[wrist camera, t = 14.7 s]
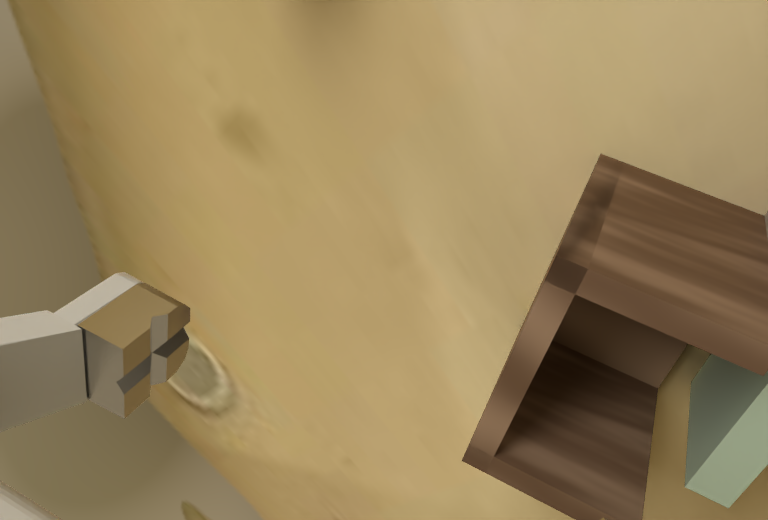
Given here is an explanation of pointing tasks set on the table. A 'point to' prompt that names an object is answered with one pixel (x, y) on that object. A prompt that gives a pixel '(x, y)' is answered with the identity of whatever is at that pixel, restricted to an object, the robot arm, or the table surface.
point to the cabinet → (621, 338)
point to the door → (726, 430)
